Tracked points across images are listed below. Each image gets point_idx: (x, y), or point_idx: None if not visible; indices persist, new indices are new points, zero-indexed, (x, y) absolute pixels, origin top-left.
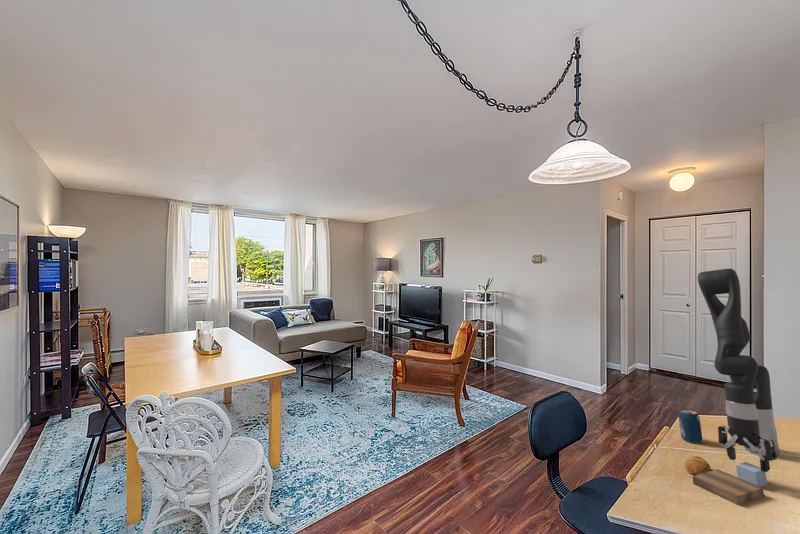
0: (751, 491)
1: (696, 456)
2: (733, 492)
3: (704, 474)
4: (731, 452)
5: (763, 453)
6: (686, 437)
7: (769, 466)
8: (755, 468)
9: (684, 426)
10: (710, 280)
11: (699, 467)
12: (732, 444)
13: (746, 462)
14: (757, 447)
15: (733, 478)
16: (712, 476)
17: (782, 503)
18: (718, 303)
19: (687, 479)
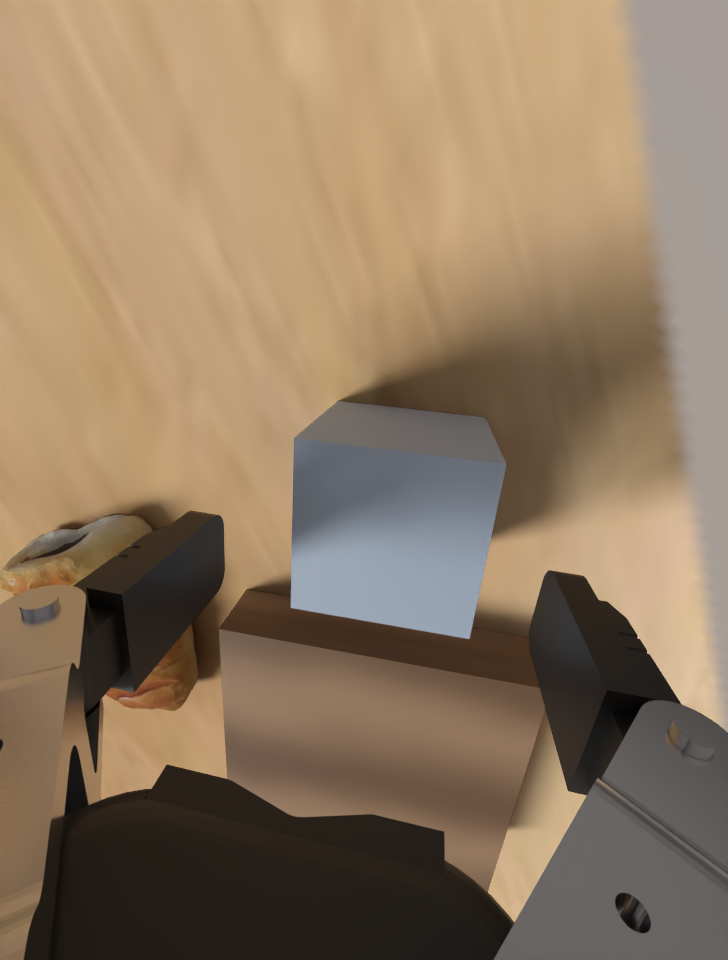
0: (518, 793)
1: (18, 581)
2: (456, 866)
3: (240, 766)
4: (169, 637)
5: (660, 821)
6: None
7: (640, 653)
8: (433, 539)
9: None
10: None
11: (153, 684)
12: (98, 797)
13: (303, 447)
14: (545, 878)
15: (360, 694)
16: (278, 759)
17: (645, 646)
18: None
19: (204, 753)
